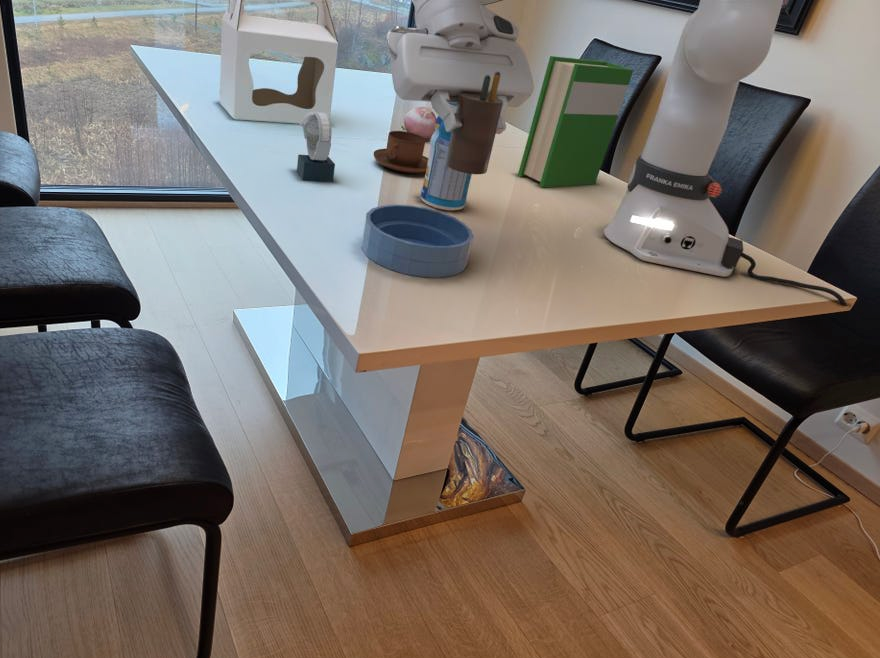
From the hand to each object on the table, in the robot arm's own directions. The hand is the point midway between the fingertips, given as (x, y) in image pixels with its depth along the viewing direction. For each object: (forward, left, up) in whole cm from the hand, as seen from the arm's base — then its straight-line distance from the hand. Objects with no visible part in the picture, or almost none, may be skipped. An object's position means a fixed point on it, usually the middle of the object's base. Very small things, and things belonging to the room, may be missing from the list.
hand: (477, 130), depth 86 cm
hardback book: (-11, -62, -19) cm, 66 cm away
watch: (+30, -22, -19) cm, 42 cm away
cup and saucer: (+19, -41, -19) cm, 50 cm away
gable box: (+54, -56, -19) cm, 80 cm away
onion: (+23, -68, -19) cm, 75 cm away
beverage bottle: (+7, -26, -19) cm, 33 cm away
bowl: (+5, +1, -19) cm, 20 cm away
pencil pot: (0, 0, -5) cm, 5 cm away
